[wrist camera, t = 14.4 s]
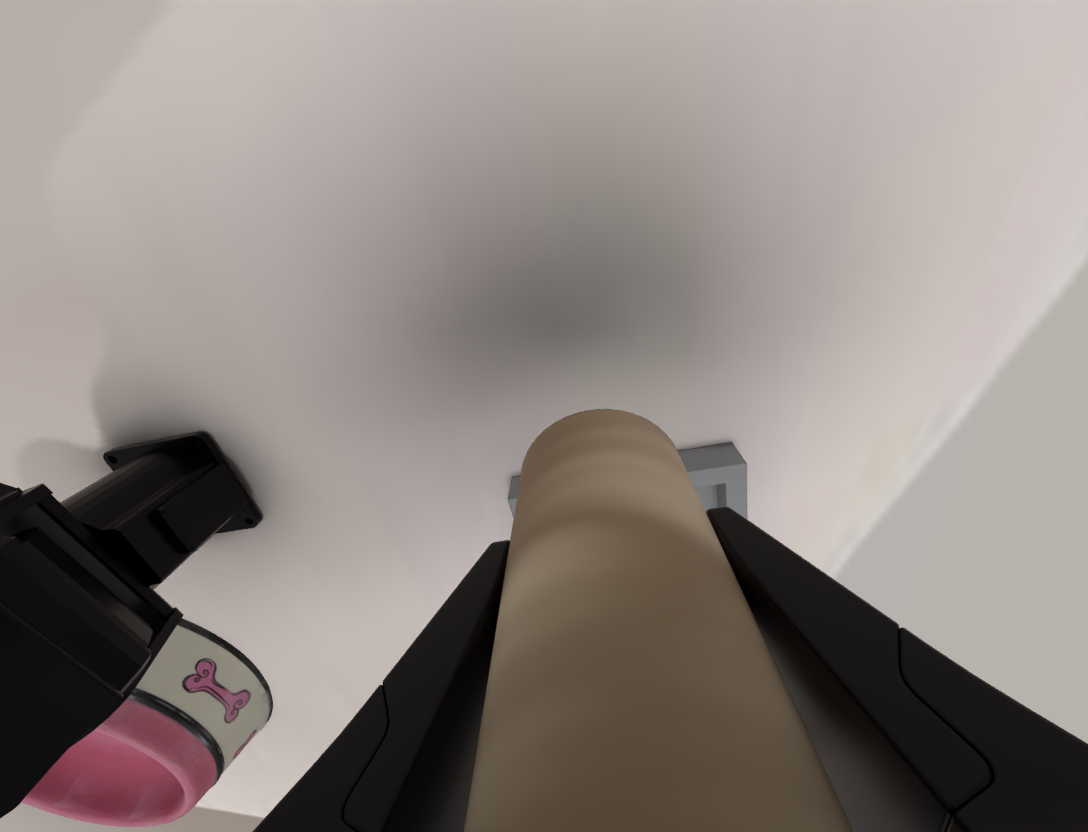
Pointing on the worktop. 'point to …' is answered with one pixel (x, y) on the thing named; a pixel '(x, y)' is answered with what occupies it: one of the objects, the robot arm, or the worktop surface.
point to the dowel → (632, 659)
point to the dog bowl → (162, 737)
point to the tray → (702, 477)
